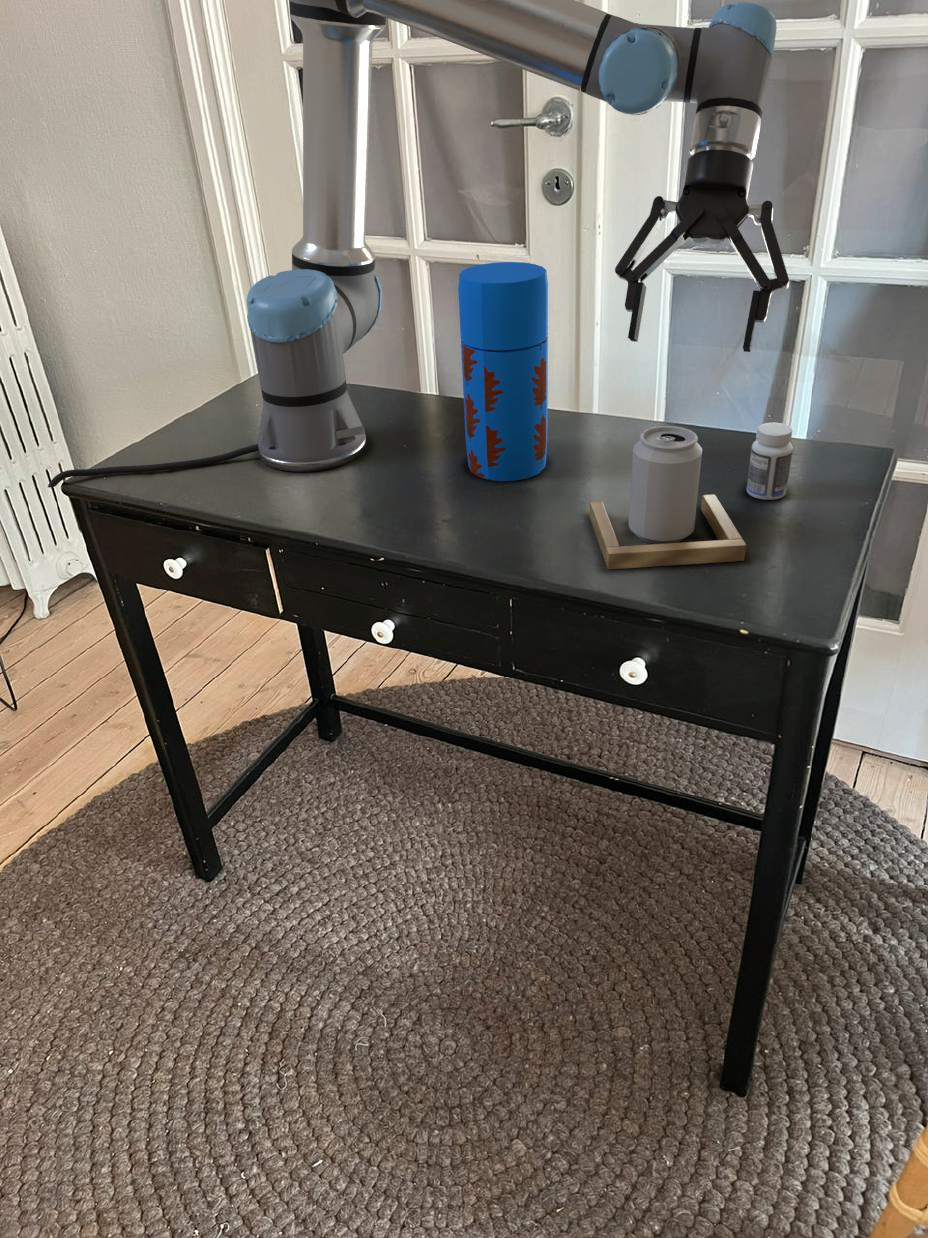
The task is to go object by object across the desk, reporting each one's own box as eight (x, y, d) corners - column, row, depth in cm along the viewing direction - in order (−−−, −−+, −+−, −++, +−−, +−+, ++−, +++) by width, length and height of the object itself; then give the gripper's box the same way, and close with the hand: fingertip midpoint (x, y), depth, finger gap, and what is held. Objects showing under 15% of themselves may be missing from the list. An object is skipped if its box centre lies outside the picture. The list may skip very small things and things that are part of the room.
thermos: (528, 443, 130) (526, 257, 116) (560, 472, 121) (563, 275, 107) (456, 457, 127) (445, 268, 113) (483, 487, 118) (476, 288, 104)
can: (706, 528, 107) (716, 431, 100) (671, 554, 102) (681, 454, 95) (650, 511, 111) (657, 416, 104) (615, 535, 106) (620, 437, 100)
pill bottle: (781, 484, 115) (791, 420, 111) (789, 501, 111) (799, 436, 107) (743, 484, 116) (751, 420, 111) (748, 500, 112) (757, 436, 107)
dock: (607, 569, 100) (608, 553, 99) (589, 516, 110) (589, 501, 109) (744, 561, 100) (746, 545, 99) (713, 509, 111) (714, 494, 110)
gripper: (610, 143, 107) (581, 329, 111) (835, 148, 100) (796, 349, 103) (621, 165, 114) (593, 340, 118) (832, 172, 107) (796, 359, 110)
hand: (688, 345), depth 111 cm, fingers open, 13 cm apart
